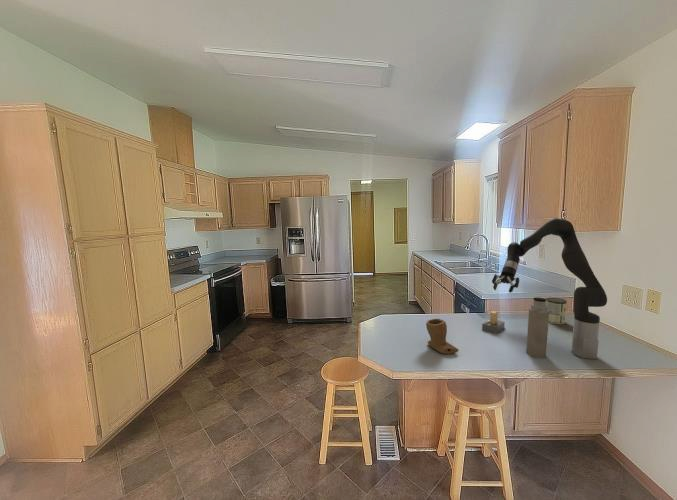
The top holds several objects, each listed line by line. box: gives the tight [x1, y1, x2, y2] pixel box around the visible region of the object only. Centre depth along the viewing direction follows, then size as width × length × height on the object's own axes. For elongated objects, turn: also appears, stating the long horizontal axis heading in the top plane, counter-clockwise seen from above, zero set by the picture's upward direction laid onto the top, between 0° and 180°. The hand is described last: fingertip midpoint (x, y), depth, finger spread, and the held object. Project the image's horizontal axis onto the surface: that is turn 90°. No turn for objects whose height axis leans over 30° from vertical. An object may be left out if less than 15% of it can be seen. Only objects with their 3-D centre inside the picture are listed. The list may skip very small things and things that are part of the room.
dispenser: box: [481, 318, 506, 334], centre depth 170 cm, size 12×8×6 cm, turn 132°
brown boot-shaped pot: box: [425, 318, 459, 355], centre depth 147 cm, size 15×12×15 cm
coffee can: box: [545, 297, 567, 325], centre depth 181 cm, size 10×10×14 cm
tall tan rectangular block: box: [489, 310, 499, 324], centre depth 169 cm, size 4×2×10 cm, turn 132°
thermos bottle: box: [525, 297, 549, 359], centre depth 139 cm, size 8×8×28 cm
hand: (502, 290), depth 176 cm, fingers open, 8 cm apart
